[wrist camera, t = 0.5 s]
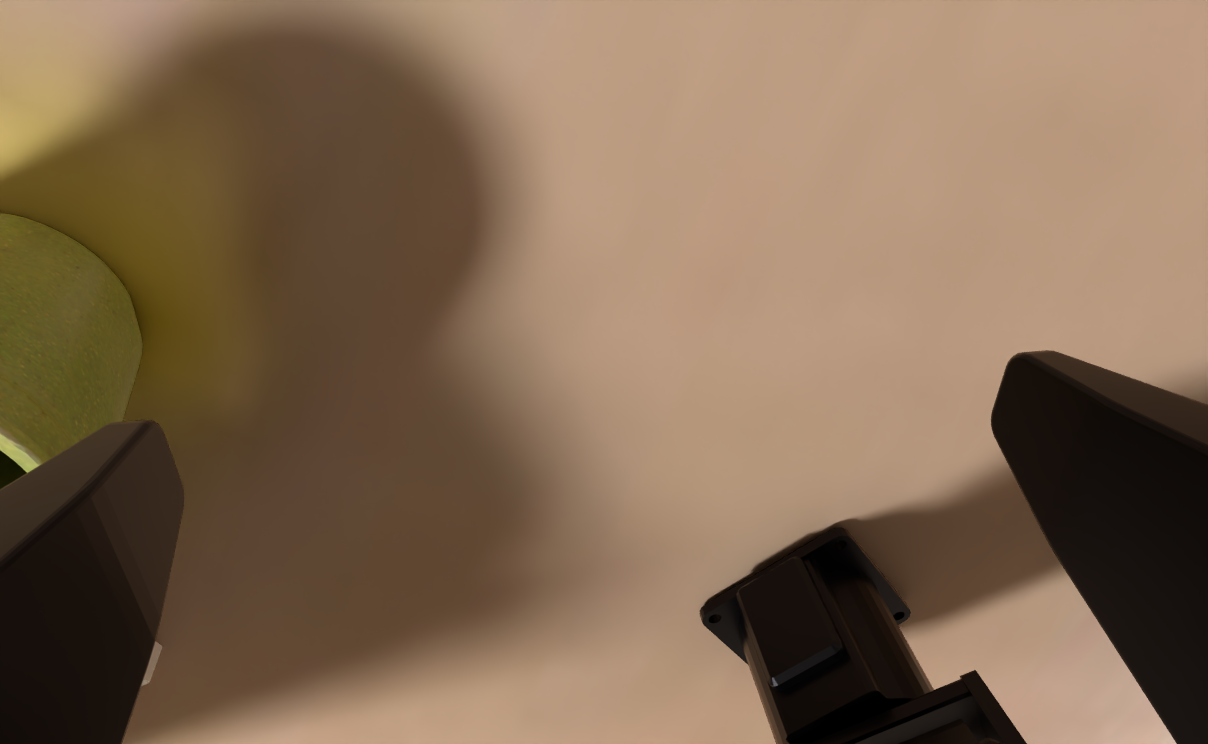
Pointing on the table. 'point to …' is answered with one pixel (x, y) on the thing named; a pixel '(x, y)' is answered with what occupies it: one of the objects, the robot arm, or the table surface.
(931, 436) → the table surface
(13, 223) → the plant pot
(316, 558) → the table surface
